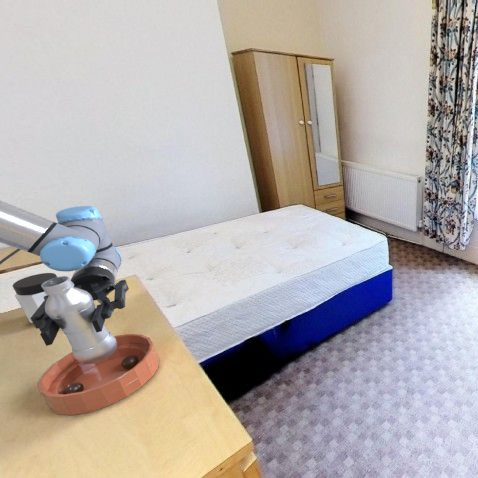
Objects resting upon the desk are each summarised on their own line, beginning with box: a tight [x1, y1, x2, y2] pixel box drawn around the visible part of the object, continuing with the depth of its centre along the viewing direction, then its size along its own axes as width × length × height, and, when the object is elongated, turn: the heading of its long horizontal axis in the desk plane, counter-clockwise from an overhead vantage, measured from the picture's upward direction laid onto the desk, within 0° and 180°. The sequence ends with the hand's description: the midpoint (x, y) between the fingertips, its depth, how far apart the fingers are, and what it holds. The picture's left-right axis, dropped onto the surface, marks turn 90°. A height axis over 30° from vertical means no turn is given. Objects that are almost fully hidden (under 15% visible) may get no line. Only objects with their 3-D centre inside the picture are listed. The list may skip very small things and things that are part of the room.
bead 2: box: [122, 356, 139, 369], centre depth 75 cm, size 3×3×3 cm
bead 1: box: [63, 382, 84, 394], centre depth 68 cm, size 3×3×3 cm
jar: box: [12, 272, 58, 324], centre depth 91 cm, size 9×8×12 cm
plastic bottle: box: [41, 275, 117, 364], centre depth 66 cm, size 6×7×20 cm
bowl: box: [37, 333, 160, 416], centre depth 72 cm, size 18×18×6 cm
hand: (72, 332), depth 61 cm, fingers closed on plastic bottle, 6 cm apart
